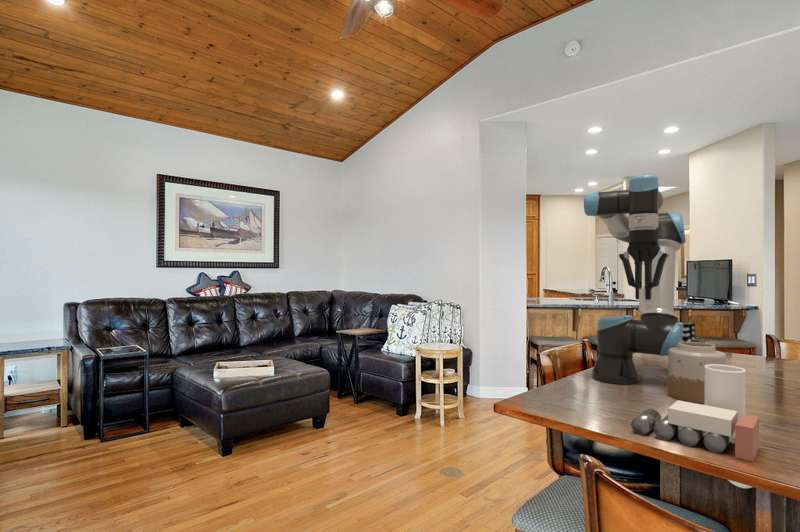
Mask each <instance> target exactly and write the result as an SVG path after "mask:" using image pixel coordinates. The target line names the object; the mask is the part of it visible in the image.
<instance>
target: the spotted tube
mask: <svg viewBox="0 0 800 532" xmlns="http://www.w3.org/2000/svg"><path fill="white" fill-rule="evenodd" d="M679 322H680V323H682V324H683V336H682V342H696V323H694V322H687V321H679Z"/></svg>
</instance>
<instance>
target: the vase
mask: <svg viewBox="0 0 800 532" xmlns="http://www.w3.org/2000/svg"><path fill="white" fill-rule="evenodd" d="M716 349H717V348H716V345H715V344H712V343H707V342H700V341H698V342H697V341H695V342H679V343H678V347H673V348H670V349H669V350H668V356H667V394H668V395H669V396H670V397H672V398H675V399H678V400H679V401H684V402H690V403H695V404H701V405H705V365H708V364H719V365H727V355H726V353H725V352H723V351H720V350H716Z"/></svg>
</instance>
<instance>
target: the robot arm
mask: <svg viewBox="0 0 800 532" xmlns="http://www.w3.org/2000/svg"><path fill="white" fill-rule="evenodd" d="M659 187H660V184H659V177H658V176H657V175H655V174H641V175H637V176H636V175H635V176H633V177H631V178H630V179H629V181H628V188H627V189H620V190H611V191H610V190H609V191H599V192H598V191H595V192H589V193H587V194H585V196H584V198H583V211H584V214H585V215H586V216H587V217H597V216H598V217H599V219H601V221H602V222H603V223H604V224H605V225H606V226H607V229H608V232H609V234H610V235H611V236H612V237H613V238H615V239H616V240H619V241H621V242H624V243H628V246H627V248H626V249H627V250H626V251H624V252H623V253H619V254H618V257H619V259H620V260H621V262H622V265H623V269H624V272H625V277H626V281H627V285H628V286H629V287H632V288H634V289H635V290H634V291H635V295H634V296H635V297H634V298H635V299H636V300H638V312H642V313H641V314H640V319H634V316H632V315H629V314H627V315H626V314H625V315H624V314H623V315H621V314H620V315H611V316H610V315H609V316H603V317H600V318H599V319H598V321H597V329H596V331H597V333H596V334H597V336H596V337H597V342H596V343H597V357H596V360H595V363H594V366H593V369H592V372H591V373H592V375H591V377H592V379H593V380H596V381H599V382H603V383H607V384H614V385H633V384H634V385H635V384H637V383H639V374H638V371H637V368H636V366H635V362H634V356H633V355H634V353H636V354H643V355H644V354H646V355H653V356H654V355H655V356H661V357H665V356H666V357H668V350H669V349H670V348H673V347H678V343H679V342H682V336H683V324H682V323H680V322H681V321H679V317H678V315H676V313H674V311H675V310H674V309H675V287H676V286H675V285H676V284H675V282H676V281H675V279H676V258H677V257H676V254H677V251H679V250H680V249H681V248H682V244H685V243H687V240H686V239H687V238H686V234H685V233H686V232H685V228H684V227H685V225H684V219H683V214H682V213H680V212H669V211H667V212H659V210H660V209H661V208H662V206H663V204H664V199H663V195H662V193H661V192H660V190H659ZM630 257H631V258H632V260H633V261H634V272H633V270H632V269H633V268H632V265H631V261H630ZM643 265H644V286H643ZM633 273H634V274H633ZM643 287H644V288H643Z"/></svg>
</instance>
